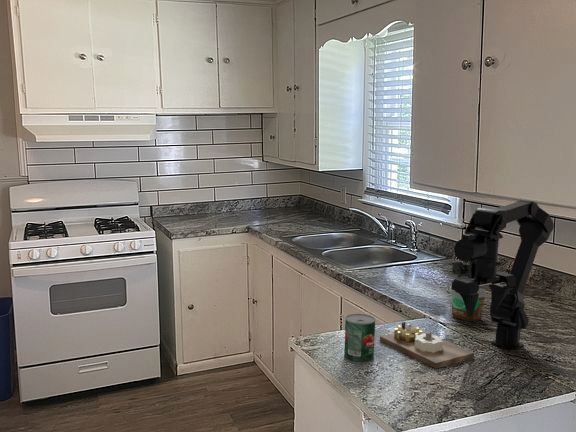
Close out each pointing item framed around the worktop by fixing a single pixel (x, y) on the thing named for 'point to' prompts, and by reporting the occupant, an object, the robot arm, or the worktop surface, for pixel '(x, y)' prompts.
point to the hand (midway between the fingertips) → (481, 313)
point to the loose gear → (428, 343)
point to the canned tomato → (359, 338)
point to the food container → (459, 306)
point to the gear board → (436, 359)
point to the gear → (406, 332)
